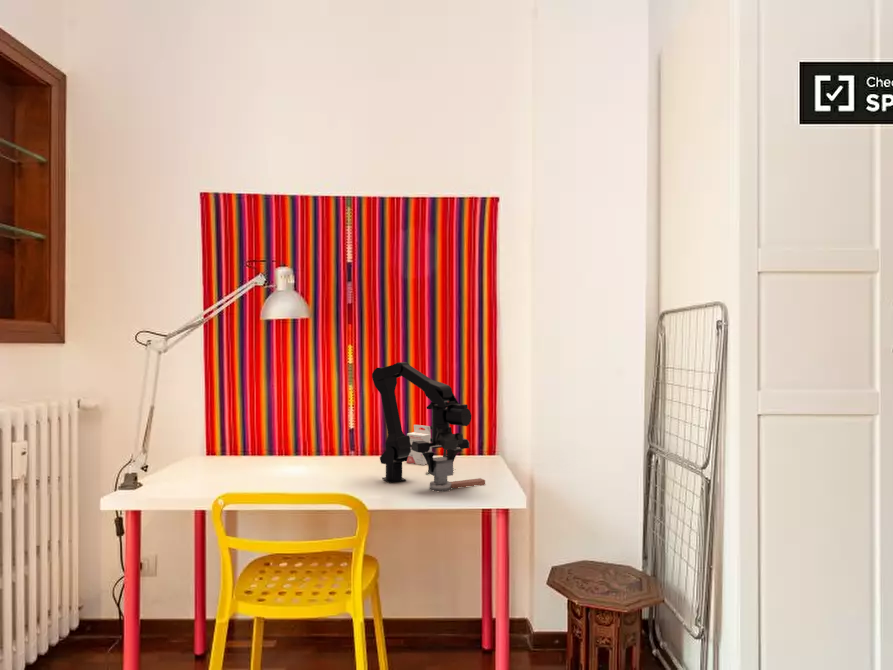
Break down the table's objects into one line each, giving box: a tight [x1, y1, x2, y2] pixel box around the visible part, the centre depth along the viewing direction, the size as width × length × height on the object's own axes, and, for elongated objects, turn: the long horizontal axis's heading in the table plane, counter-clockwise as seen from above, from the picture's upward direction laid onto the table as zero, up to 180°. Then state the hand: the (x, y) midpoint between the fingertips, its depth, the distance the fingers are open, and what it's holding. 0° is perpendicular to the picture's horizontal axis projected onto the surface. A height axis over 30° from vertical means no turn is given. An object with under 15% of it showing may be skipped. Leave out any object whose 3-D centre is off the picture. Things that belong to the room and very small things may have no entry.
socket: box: [427, 456, 454, 477], centre depth 205 cm, size 6×6×5 cm
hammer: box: [429, 476, 486, 493], centre depth 208 cm, size 20×7×5 cm, turn 118°
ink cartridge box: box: [406, 424, 432, 466], centre depth 246 cm, size 9×5×15 cm, turn 58°
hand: (440, 471), depth 205 cm, fingers closed on socket, 6 cm apart
